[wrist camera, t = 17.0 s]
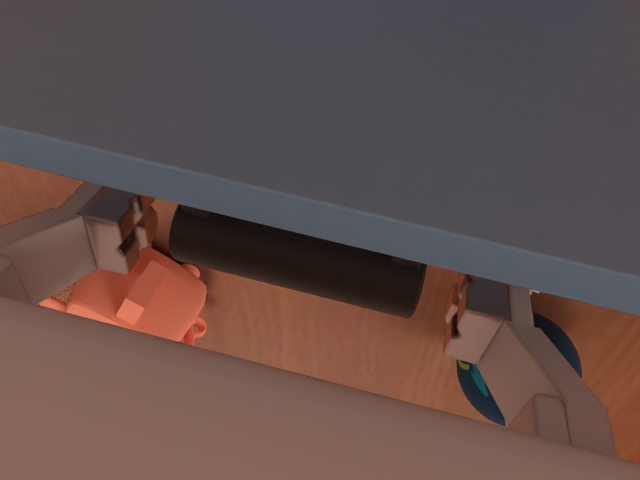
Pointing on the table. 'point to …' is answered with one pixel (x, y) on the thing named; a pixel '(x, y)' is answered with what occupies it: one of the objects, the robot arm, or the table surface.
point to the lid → (349, 135)
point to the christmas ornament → (477, 387)
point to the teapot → (142, 298)
